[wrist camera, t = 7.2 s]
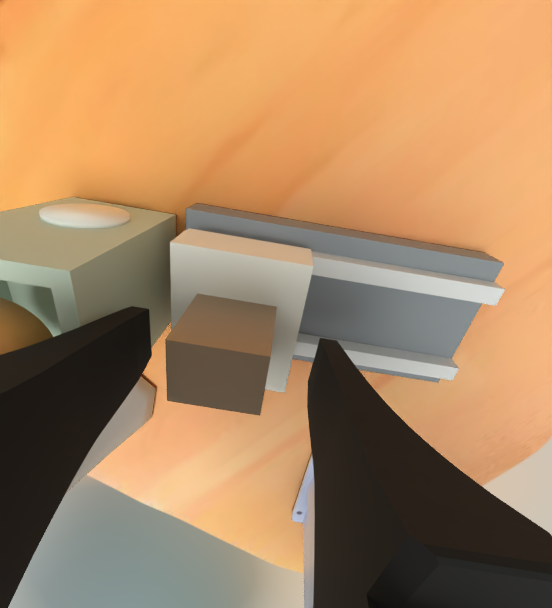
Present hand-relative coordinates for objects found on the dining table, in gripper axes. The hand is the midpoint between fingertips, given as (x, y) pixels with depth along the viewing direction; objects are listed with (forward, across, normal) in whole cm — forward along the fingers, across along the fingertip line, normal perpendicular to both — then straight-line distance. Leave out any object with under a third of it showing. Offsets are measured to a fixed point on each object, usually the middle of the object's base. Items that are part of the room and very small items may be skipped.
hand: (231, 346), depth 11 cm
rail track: (+6, -4, 0) cm, 7 cm away
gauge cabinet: (+6, +7, 0) cm, 9 cm away
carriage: (+3, 0, 0) cm, 3 cm away
